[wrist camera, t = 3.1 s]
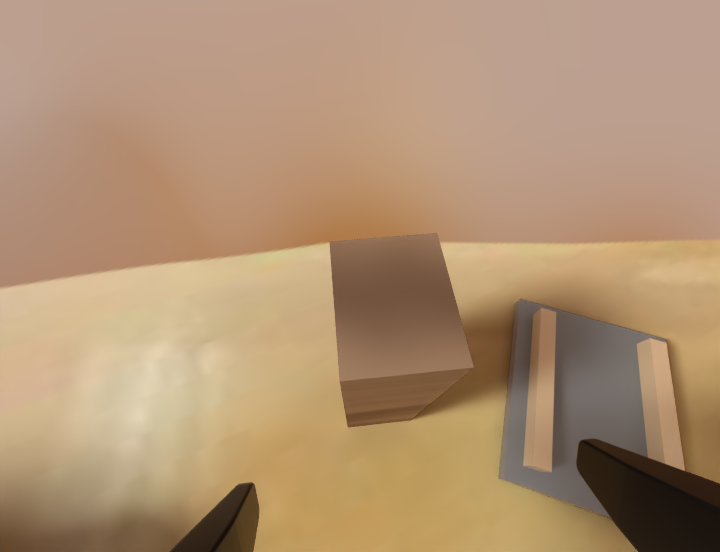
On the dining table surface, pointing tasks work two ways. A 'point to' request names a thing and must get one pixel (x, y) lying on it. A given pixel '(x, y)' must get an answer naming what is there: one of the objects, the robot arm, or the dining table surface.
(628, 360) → the grey stand base
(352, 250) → the wooden block
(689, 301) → the dining table surface
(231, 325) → the dining table surface
